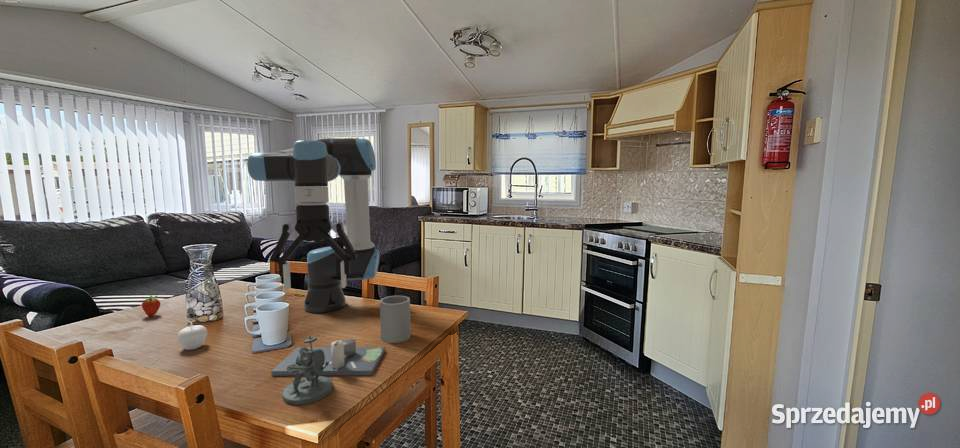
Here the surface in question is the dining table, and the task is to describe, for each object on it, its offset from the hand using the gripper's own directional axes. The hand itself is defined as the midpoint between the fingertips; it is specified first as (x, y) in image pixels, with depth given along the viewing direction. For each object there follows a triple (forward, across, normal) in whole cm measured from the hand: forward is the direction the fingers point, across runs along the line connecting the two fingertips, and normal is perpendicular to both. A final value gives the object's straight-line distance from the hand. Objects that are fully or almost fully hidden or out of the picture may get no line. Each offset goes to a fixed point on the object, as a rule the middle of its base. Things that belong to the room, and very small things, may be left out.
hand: (316, 288), depth 96 cm
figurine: (+22, 0, -10) cm, 24 cm away
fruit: (+21, -70, +53) cm, 90 cm away
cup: (+21, +18, +18) cm, 34 cm away
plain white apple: (+21, -40, +20) cm, 50 cm away
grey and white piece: (+20, +6, +2) cm, 21 cm away
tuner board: (+21, +2, +4) cm, 22 cm away
